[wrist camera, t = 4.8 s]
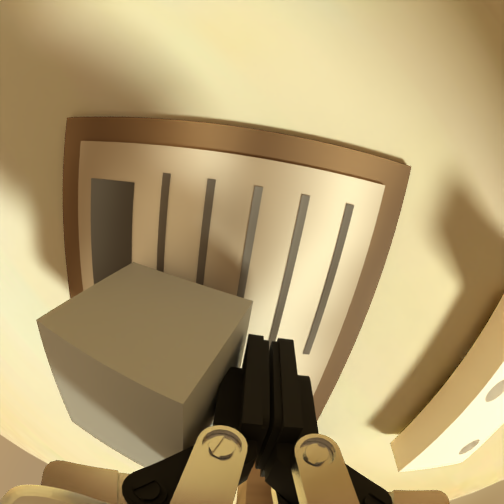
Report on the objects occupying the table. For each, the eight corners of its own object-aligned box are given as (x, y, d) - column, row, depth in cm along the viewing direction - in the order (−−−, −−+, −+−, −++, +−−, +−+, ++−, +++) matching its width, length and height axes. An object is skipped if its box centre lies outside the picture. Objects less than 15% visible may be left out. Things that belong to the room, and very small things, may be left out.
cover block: (253, 301, 10) (182, 404, 6) (234, 396, 12) (184, 486, 7) (133, 262, 11) (36, 319, 7) (137, 356, 13) (71, 421, 9)
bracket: (498, 278, 12) (581, 358, 5) (543, 302, 13) (604, 363, 6) (387, 433, 17) (410, 519, 10) (448, 431, 17) (475, 499, 10)
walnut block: (323, 442, 17) (331, 517, 11) (302, 472, 19) (305, 535, 13) (249, 438, 17) (244, 517, 11) (239, 468, 19) (233, 533, 13)
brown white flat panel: (408, 165, 10) (413, 167, 10) (308, 431, 16) (309, 437, 16) (71, 117, 10) (64, 117, 10) (93, 390, 16) (90, 395, 16)
